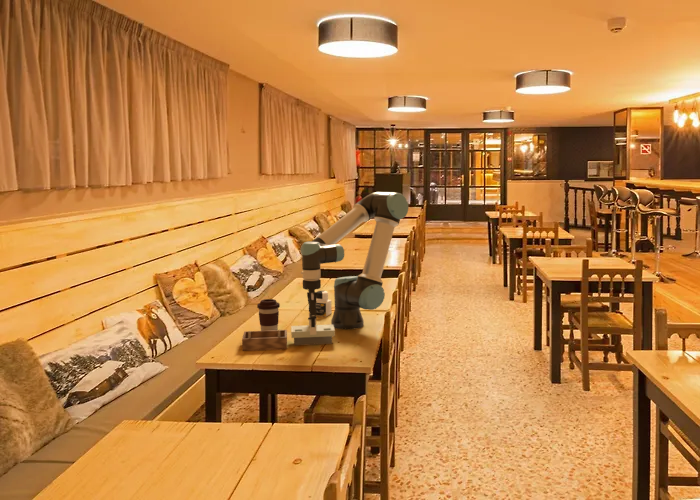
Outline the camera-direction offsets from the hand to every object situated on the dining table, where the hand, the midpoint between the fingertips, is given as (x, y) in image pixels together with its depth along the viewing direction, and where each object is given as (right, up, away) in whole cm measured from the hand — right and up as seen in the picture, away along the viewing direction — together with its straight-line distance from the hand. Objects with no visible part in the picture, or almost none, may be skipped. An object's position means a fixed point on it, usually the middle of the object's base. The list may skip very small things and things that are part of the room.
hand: (312, 331), depth 271 cm
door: (0, -1, 0) cm, 1 cm away
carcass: (-20, -6, -3) cm, 21 cm away
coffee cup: (-21, -3, +18) cm, 27 cm away
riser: (0, -5, +1) cm, 5 cm away
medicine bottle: (+2, +2, +51) cm, 51 cm away
